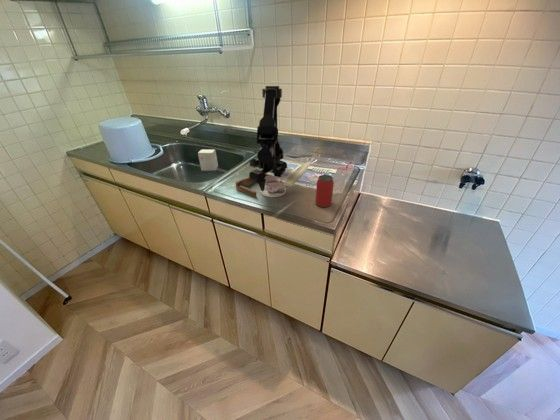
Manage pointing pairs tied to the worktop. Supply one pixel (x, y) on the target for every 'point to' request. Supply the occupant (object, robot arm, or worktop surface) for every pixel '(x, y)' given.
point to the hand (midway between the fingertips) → (269, 187)
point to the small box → (208, 160)
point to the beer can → (324, 190)
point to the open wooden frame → (245, 182)
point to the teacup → (272, 186)
